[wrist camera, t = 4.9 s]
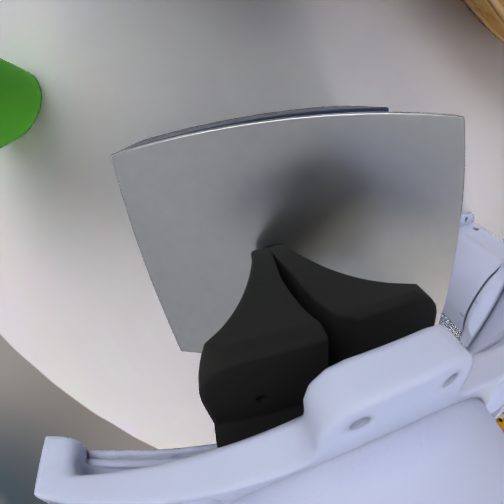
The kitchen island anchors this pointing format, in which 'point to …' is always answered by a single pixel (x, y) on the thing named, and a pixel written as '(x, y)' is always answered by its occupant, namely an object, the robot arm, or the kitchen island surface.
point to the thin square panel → (294, 206)
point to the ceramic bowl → (488, 14)
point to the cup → (17, 102)
